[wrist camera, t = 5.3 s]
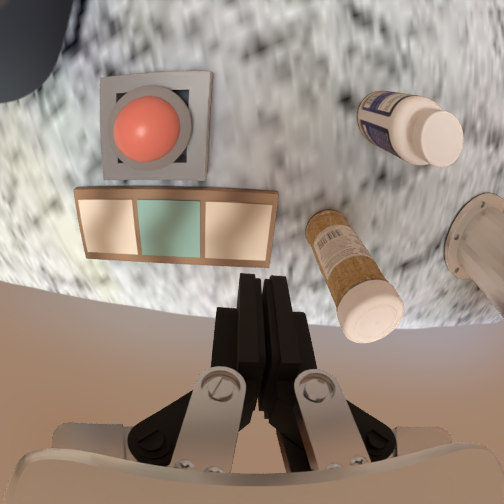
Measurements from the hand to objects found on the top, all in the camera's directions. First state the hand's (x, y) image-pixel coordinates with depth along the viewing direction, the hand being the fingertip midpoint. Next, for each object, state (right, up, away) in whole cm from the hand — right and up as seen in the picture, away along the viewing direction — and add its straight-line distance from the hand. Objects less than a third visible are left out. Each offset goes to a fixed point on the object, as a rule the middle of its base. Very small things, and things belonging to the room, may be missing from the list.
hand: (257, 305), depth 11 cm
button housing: (-8, +13, +12) cm, 20 cm away
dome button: (-8, +13, +11) cm, 19 cm away
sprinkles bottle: (+7, +4, +19) cm, 20 cm away
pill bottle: (+12, +14, +13) cm, 23 cm away
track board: (-8, +5, +17) cm, 20 cm away
